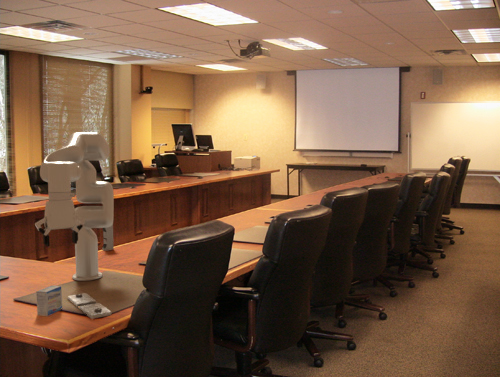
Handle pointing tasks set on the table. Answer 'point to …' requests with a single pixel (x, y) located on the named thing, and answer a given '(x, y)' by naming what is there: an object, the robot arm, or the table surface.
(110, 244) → the vintage mobile phone
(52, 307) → the medicine box
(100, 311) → the beige hinge strap
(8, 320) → the table surface
